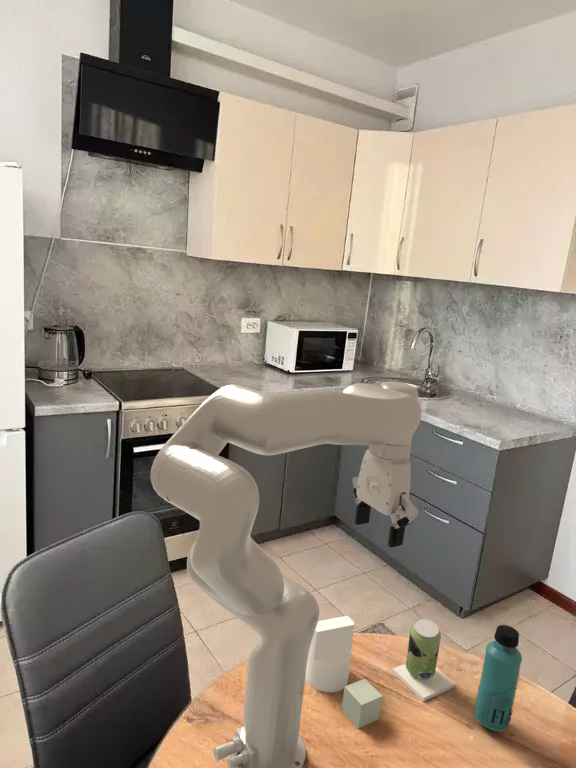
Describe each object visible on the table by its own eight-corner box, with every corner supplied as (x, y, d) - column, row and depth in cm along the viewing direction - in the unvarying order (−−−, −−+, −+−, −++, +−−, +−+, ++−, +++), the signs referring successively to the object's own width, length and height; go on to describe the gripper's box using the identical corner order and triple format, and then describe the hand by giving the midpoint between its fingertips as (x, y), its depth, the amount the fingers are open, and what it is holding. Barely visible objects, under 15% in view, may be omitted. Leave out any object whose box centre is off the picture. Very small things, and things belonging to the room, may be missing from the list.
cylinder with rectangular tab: (316, 696, 107) (323, 641, 105) (296, 665, 115) (302, 614, 113) (356, 686, 111) (363, 633, 109) (334, 657, 119) (341, 607, 117)
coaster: (423, 701, 109) (423, 697, 109) (392, 671, 116) (392, 668, 116) (454, 687, 114) (455, 683, 114) (422, 659, 121) (423, 656, 121)
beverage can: (431, 663, 119) (439, 613, 116) (438, 688, 111) (446, 636, 109) (402, 659, 119) (408, 610, 116) (406, 685, 112) (413, 633, 109)
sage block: (358, 728, 101) (361, 705, 100) (341, 709, 105) (344, 686, 104) (378, 719, 104) (382, 696, 103) (361, 700, 108) (364, 678, 107)
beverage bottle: (485, 741, 101) (504, 644, 97) (465, 713, 107) (482, 620, 103) (516, 736, 102) (536, 640, 99) (494, 709, 109) (511, 617, 105)
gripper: (345, 436, 108) (335, 518, 112) (407, 466, 94) (393, 559, 97) (374, 434, 112) (364, 513, 116) (438, 462, 98) (424, 551, 101)
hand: (377, 534), depth 106 cm, fingers open, 9 cm apart
